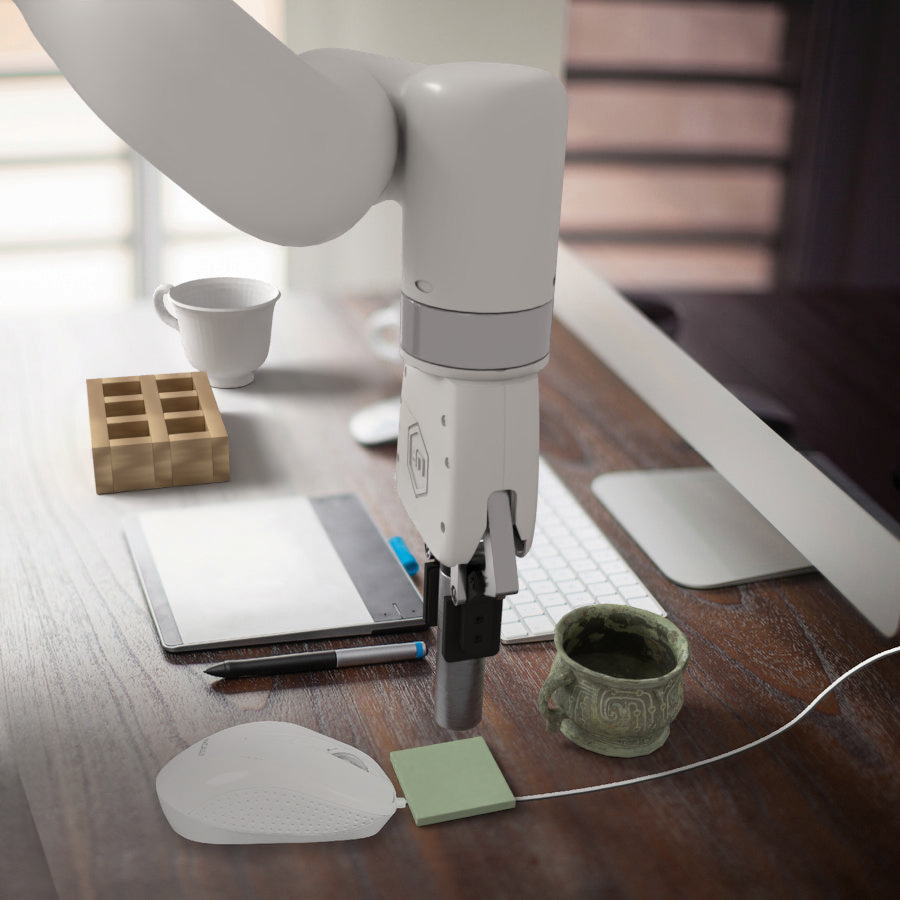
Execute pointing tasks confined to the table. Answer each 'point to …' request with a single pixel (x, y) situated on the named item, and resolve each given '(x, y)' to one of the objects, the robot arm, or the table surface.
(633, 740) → the vessel
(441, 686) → the steel peg
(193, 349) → the teacup
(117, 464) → the desk rack
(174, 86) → the robot arm
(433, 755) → the mat
